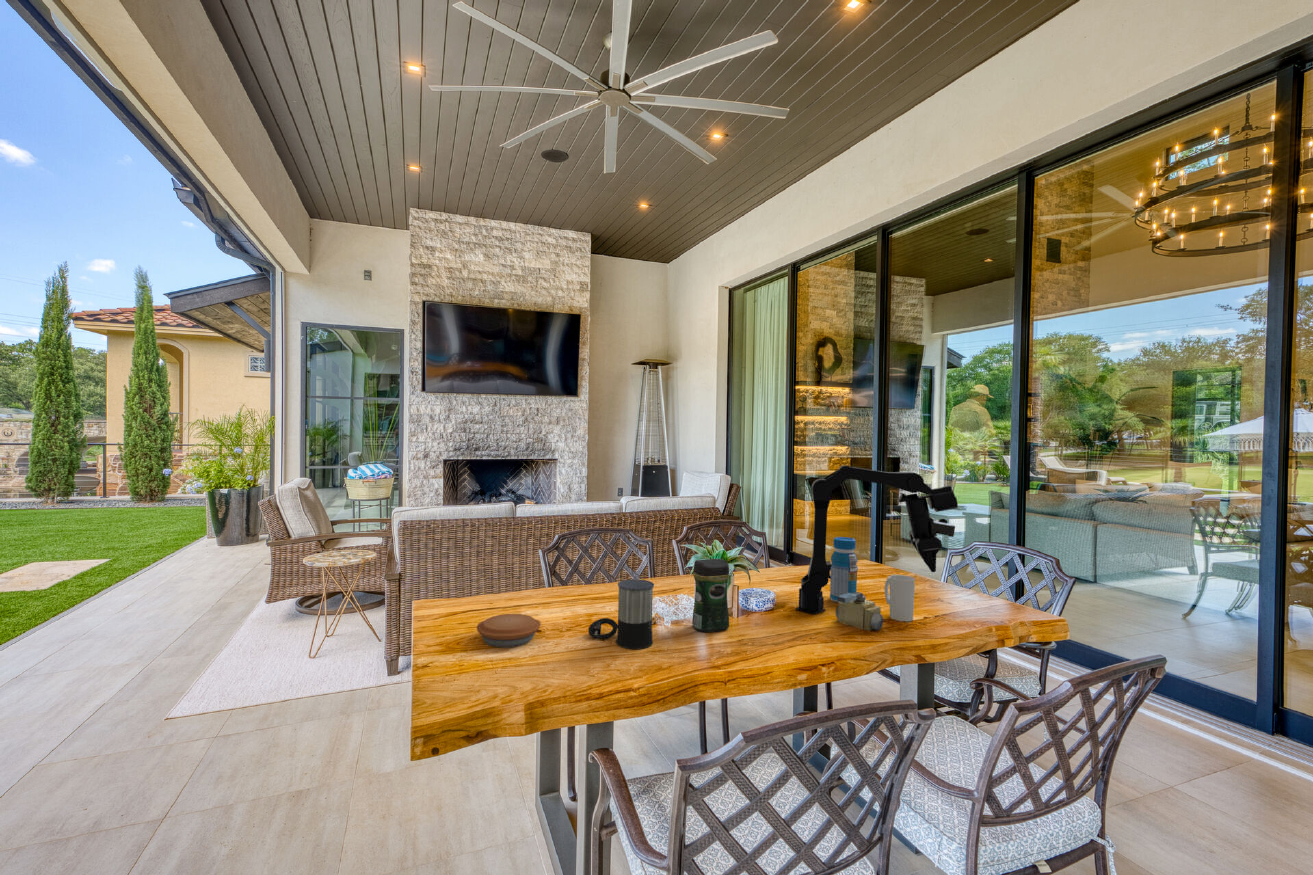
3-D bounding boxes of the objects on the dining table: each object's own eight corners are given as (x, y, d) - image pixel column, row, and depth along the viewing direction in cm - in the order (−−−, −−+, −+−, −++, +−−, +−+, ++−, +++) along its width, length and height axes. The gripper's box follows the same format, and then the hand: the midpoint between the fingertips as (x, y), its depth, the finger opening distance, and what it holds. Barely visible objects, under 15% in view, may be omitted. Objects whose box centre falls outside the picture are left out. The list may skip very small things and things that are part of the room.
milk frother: (655, 649, 138) (657, 588, 138) (590, 651, 136) (591, 589, 136) (647, 629, 152) (648, 574, 152) (587, 631, 150) (588, 574, 150)
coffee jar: (719, 621, 160) (720, 555, 160) (733, 630, 153) (734, 561, 153) (687, 624, 157) (689, 557, 157) (700, 634, 150) (702, 563, 150)
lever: (835, 604, 156) (835, 595, 156) (857, 598, 163) (857, 589, 163) (846, 607, 153) (846, 598, 153) (867, 600, 161) (867, 592, 161)
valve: (833, 620, 163) (834, 598, 163) (845, 617, 167) (846, 594, 167) (873, 632, 154) (873, 608, 154) (884, 628, 158) (885, 604, 158)
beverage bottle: (831, 603, 181) (832, 540, 181) (827, 596, 190) (829, 535, 190) (859, 605, 180) (860, 541, 180) (854, 597, 188) (855, 537, 188)
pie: (517, 655, 133) (518, 633, 133) (462, 645, 138) (463, 624, 138) (552, 634, 147) (552, 614, 147) (501, 626, 153) (501, 607, 153)
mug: (919, 620, 165) (920, 579, 165) (901, 623, 163) (902, 581, 163) (893, 610, 175) (894, 571, 175) (875, 612, 172) (876, 572, 172)
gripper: (955, 514, 155) (968, 571, 154) (942, 506, 173) (954, 557, 172) (912, 521, 158) (924, 577, 157) (903, 512, 176) (914, 562, 175)
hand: (930, 568), depth 165 cm, fingers open, 9 cm apart
